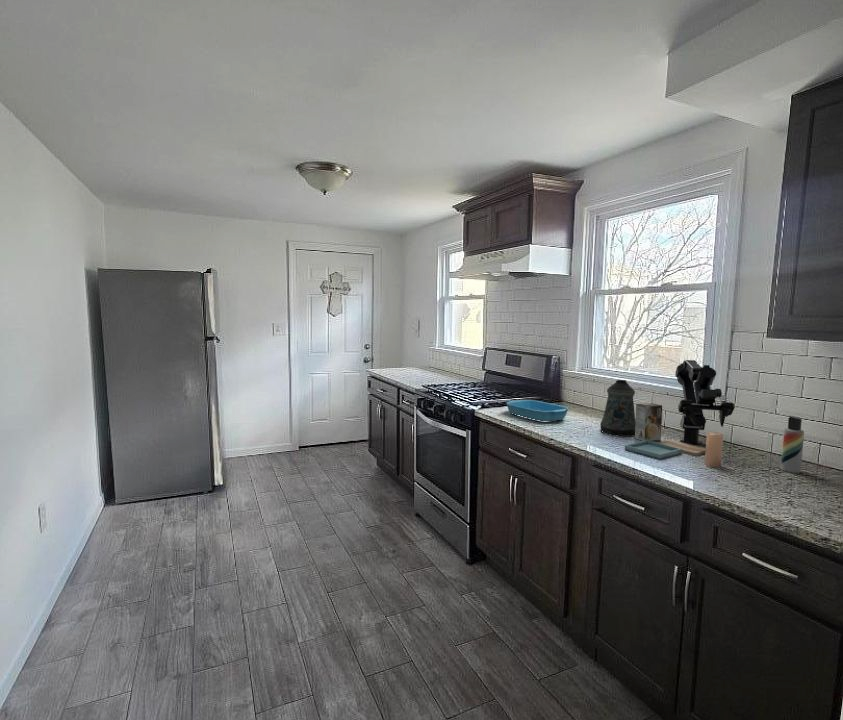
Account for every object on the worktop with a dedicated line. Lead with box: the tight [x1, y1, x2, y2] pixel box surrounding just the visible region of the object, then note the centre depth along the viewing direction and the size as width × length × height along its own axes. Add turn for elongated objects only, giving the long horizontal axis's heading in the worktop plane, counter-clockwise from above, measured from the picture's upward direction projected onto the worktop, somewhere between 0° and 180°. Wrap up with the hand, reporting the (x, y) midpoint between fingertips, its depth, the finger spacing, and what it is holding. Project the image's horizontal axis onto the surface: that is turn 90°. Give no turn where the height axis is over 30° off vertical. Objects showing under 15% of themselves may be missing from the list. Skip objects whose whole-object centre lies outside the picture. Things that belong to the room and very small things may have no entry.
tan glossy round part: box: [704, 431, 724, 468], centre depth 175 cm, size 5×5×12 cm
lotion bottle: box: [780, 415, 805, 474], centre depth 169 cm, size 6×6×20 cm
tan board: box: [658, 439, 706, 457], centre depth 197 cm, size 11×17×1 cm, turn 32°
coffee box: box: [634, 402, 663, 442], centre depth 212 cm, size 9×6×16 cm
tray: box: [624, 440, 682, 460], centre depth 193 cm, size 15×15×2 cm
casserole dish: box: [506, 399, 569, 422], centre depth 258 cm, size 37×22×7 cm, turn 30°
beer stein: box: [599, 379, 636, 437], centre depth 226 cm, size 16×19×25 cm
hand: (708, 425), depth 183 cm, fingers open, 9 cm apart
